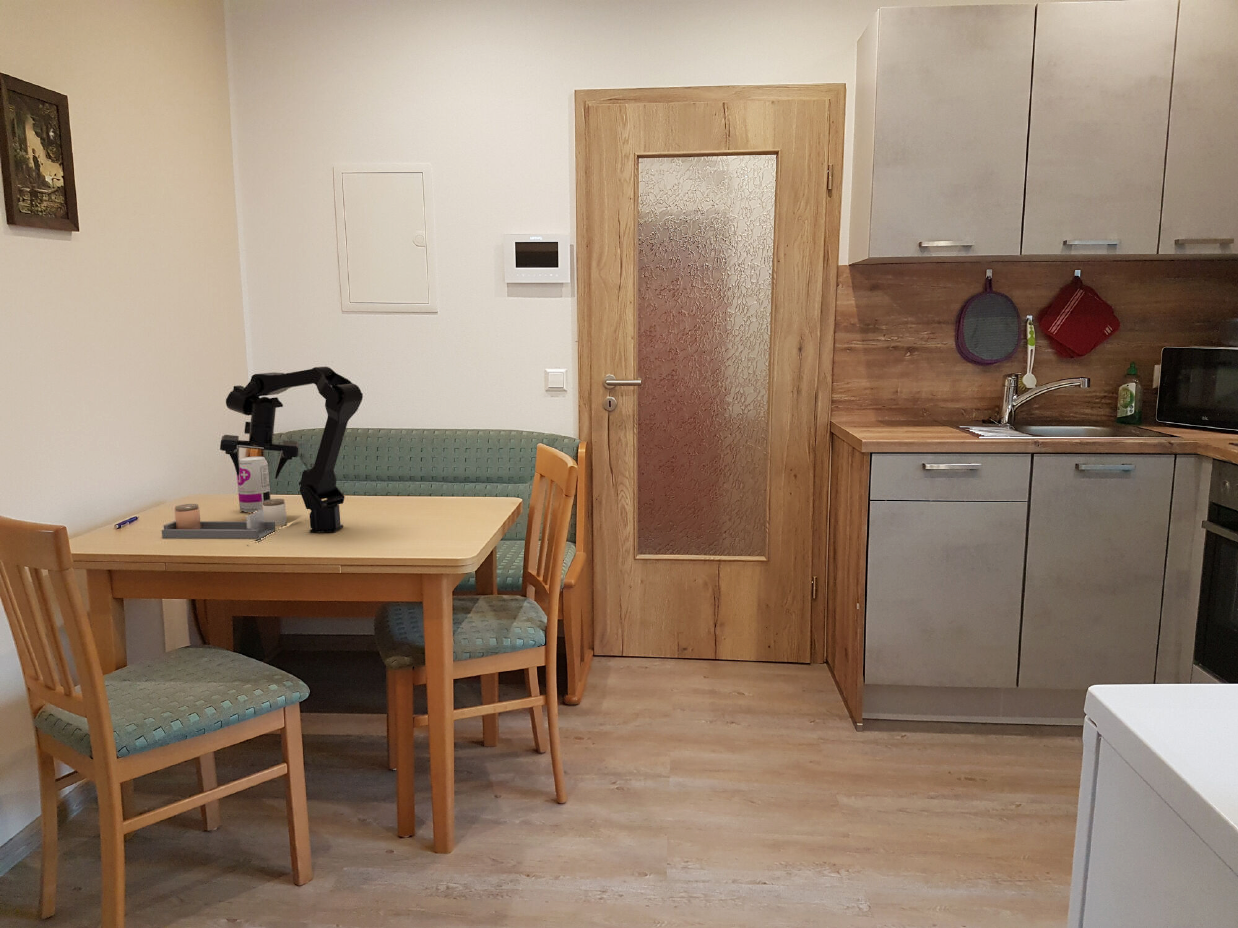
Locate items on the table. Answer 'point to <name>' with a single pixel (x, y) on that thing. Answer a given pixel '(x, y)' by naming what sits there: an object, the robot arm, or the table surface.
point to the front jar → (187, 516)
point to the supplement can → (253, 483)
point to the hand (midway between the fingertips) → (257, 476)
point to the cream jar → (275, 511)
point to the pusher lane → (218, 530)
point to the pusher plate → (256, 521)
